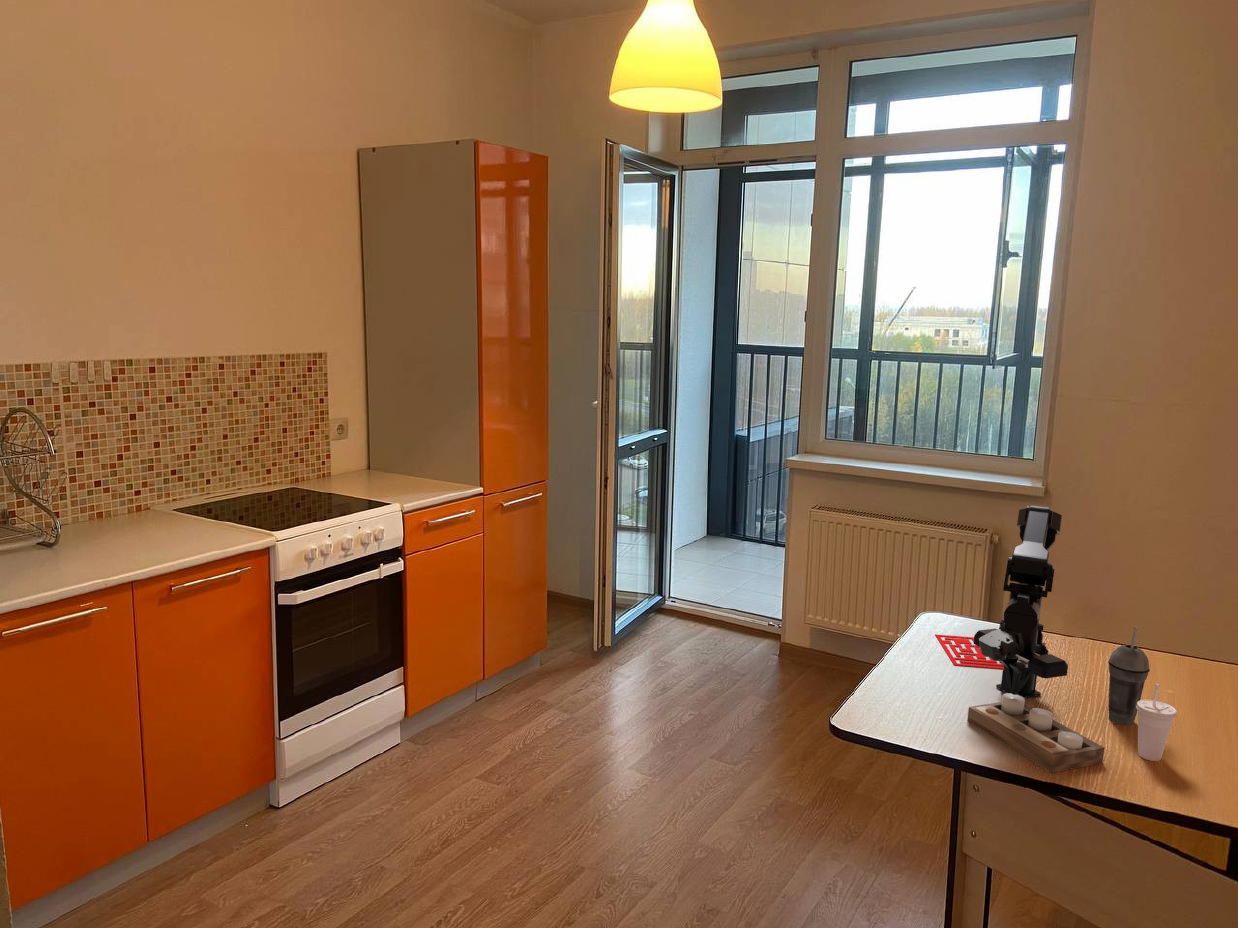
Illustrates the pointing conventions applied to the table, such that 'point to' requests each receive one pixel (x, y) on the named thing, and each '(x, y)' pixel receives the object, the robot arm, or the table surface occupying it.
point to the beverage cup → (1126, 681)
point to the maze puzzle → (967, 659)
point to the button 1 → (1012, 704)
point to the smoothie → (1153, 726)
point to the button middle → (1040, 720)
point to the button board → (1034, 739)
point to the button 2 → (1070, 740)
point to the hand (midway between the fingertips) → (1014, 693)
